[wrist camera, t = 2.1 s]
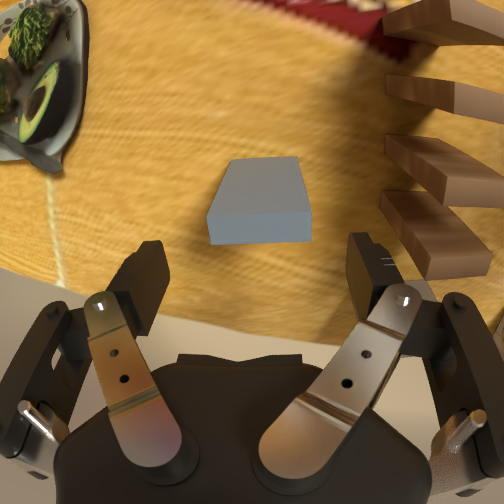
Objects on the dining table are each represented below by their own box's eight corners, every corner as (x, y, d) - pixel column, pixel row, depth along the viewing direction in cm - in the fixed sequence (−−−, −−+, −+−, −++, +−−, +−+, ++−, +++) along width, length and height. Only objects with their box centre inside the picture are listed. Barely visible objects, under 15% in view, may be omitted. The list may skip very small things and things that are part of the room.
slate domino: (231, 159, 23) (206, 216, 15) (296, 156, 23) (311, 212, 14) (233, 178, 24) (211, 245, 16) (297, 175, 23) (311, 241, 15)
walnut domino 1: (381, 16, 16) (448, -10, 7) (438, 28, 15) (519, 21, 7) (383, 35, 17) (452, 19, 8) (439, 46, 16) (522, 47, 8)
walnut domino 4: (381, 190, 23) (431, 258, 15) (431, 191, 23) (493, 254, 15) (379, 208, 24) (424, 280, 16) (429, 208, 24) (485, 275, 15)
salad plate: (-25, 169, 24) (-50, 185, 20) (-29, 30, 14) (-57, 34, 10) (94, 167, 24) (66, 187, 20) (102, -23, 14) (72, -34, 11)
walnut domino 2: (385, 74, 18) (454, 81, 10) (440, 82, 18) (522, 101, 9) (385, 94, 19) (453, 114, 11) (440, 101, 19) (520, 129, 10)
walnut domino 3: (384, 133, 21) (447, 176, 12) (438, 138, 20) (512, 182, 12) (383, 153, 22) (442, 206, 13) (436, 156, 21) (506, 208, 13)
